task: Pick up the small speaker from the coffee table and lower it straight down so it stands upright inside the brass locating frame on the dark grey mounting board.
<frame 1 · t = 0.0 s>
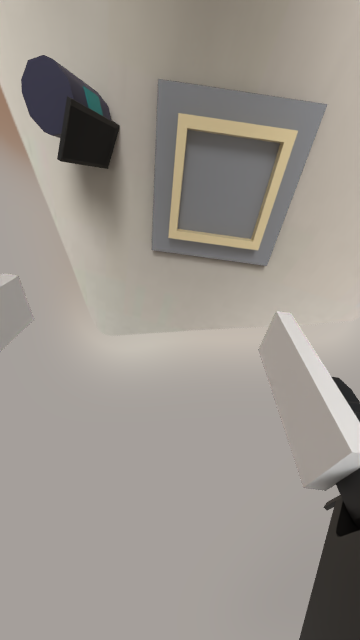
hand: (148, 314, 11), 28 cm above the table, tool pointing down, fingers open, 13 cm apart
speaker: (90, 126, 29), on the table
mount board: (222, 190, 32), on the table
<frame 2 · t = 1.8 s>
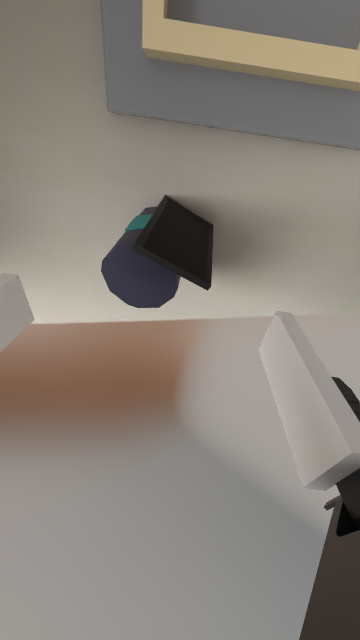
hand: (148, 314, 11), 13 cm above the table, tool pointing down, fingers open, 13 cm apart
speaker: (167, 239, 22), on the table
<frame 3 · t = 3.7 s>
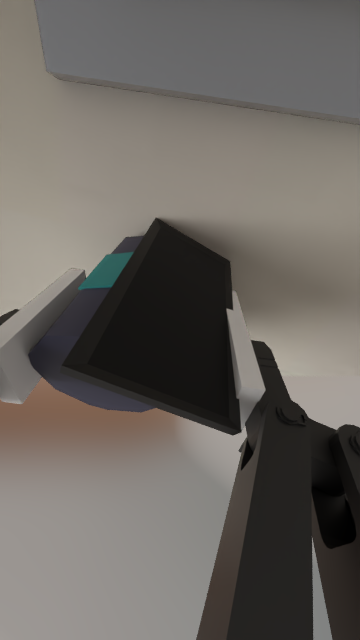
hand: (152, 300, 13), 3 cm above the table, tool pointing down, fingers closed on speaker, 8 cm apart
speaker: (160, 279, 15), on the table, touching gripper
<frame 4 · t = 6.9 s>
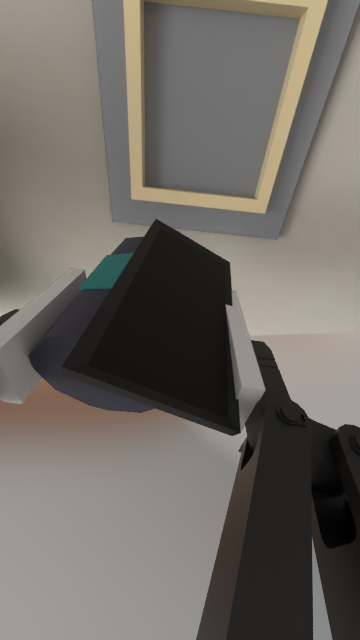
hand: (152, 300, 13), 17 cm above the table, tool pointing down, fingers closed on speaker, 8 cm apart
speaker: (160, 279, 15), point 15 cm above the table, touching gripper
mount board: (208, 119, 21), on the table
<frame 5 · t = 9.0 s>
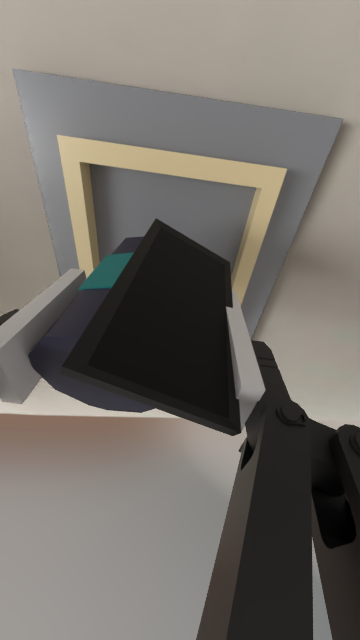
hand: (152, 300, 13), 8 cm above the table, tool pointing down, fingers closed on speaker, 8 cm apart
speaker: (160, 279, 15), point 6 cm above the table, touching gripper
mount board: (167, 252, 19), on the table
when the fingers open (5 cm above the table, at t = 10.4 s): speaker drops 1 cm, resting on mount board.
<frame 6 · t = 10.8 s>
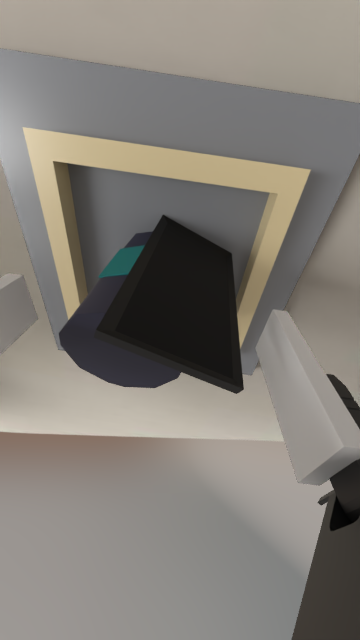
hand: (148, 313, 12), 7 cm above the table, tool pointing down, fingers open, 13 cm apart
speaker: (167, 271, 16), point 1 cm above the table, touching mount board
mount board: (164, 266, 17), on the table
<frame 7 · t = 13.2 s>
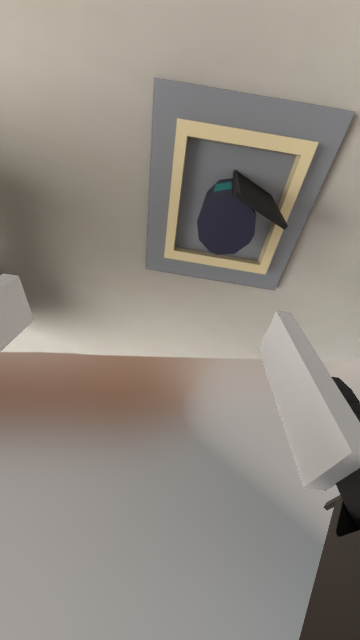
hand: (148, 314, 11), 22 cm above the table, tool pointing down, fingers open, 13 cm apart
speaker: (230, 208, 27), point 1 cm above the table, touching mount board
mount board: (226, 206, 28), on the table
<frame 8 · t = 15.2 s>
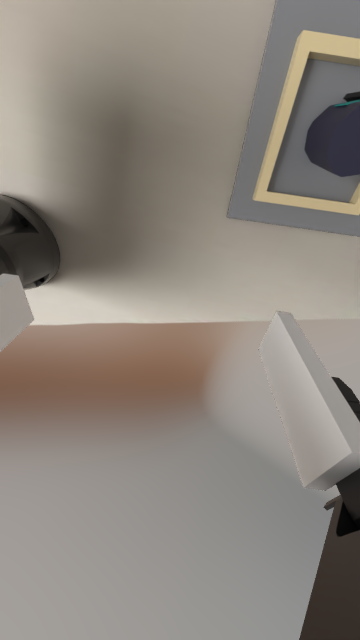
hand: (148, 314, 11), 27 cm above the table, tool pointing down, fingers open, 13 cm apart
speaker: (331, 141, 26), point 1 cm above the table, touching mount board
mount board: (325, 141, 27), on the table
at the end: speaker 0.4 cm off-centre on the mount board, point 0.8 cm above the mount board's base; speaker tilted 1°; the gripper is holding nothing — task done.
